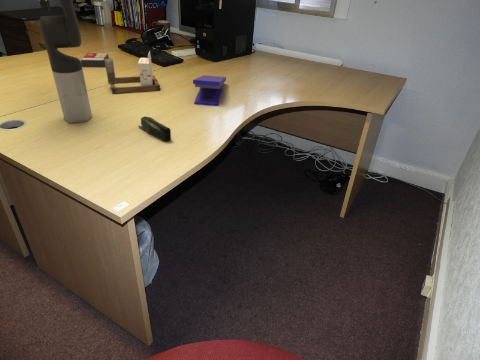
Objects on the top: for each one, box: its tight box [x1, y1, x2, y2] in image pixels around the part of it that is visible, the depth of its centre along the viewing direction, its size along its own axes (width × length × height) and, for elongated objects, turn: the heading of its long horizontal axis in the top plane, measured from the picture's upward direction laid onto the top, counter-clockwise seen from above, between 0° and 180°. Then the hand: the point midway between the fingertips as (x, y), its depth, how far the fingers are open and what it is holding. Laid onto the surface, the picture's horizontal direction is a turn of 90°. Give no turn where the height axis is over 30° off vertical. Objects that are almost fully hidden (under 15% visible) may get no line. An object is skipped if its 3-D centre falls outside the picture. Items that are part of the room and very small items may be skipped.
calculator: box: [80, 52, 110, 68], centre depth 173 cm, size 11×4×15 cm
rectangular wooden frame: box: [105, 57, 161, 94], centre depth 145 cm, size 14×21×12 cm
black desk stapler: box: [137, 116, 172, 142], centre depth 112 cm, size 5×3×15 cm
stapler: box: [192, 74, 227, 107], centre depth 146 cm, size 12×28×10 cm, turn 178°
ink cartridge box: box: [137, 50, 154, 86], centre depth 146 cm, size 9×5×15 cm, turn 9°
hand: (46, 10), depth 124 cm, fingers open, 8 cm apart
